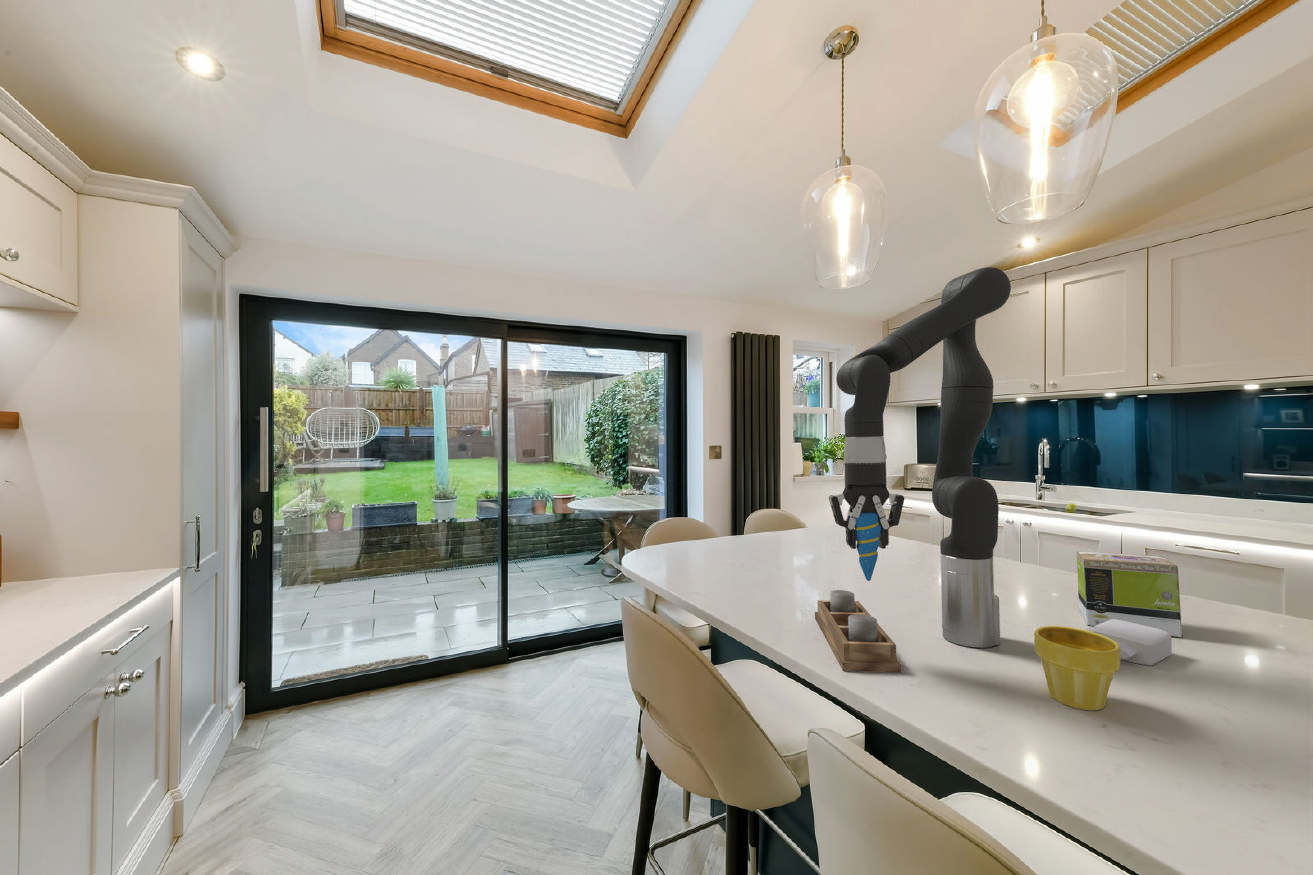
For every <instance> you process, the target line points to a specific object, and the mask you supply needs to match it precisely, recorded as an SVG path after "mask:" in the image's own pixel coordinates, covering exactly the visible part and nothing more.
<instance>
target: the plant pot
mask: <svg viewBox="0 0 1313 875" xmlns="http://www.w3.org/2000/svg"><path fill="white" fill-rule="evenodd" d="M1033 639H1034V641H1033V642H1034V650H1035V653H1036V655H1037V656H1038V657H1039V658H1040V661H1041V664H1042V669H1043V673H1044V677H1045V680H1046V684H1047V689H1048V692H1049V693H1048V694H1049V695H1050V697H1052V698H1053V699H1054V700H1055V701H1056V702H1059V703H1061V704H1063V705H1065V706H1068V707H1071V708H1074V709H1078V710H1083V711H1099V710H1102V709H1104V707H1105V705H1106V701H1107V696H1108V694H1109V691H1110V687H1111V683H1112V680H1113V677H1114V673H1116V672H1118V671H1119V669H1120V668H1121V659H1120V646H1119V645H1118V643H1117V642H1115V641H1114V640H1112V639H1110V638H1108V637H1106V636H1103V635H1100V634H1098V633H1094V632H1091V631H1089V630H1087V629H1083V628H1082V629H1081V628H1078V627H1077V628H1075V627H1070V626H1064V625H1063V626H1062V625H1044V626H1040V627H1038V628H1036V629H1035V630H1034V638H1033Z"/></svg>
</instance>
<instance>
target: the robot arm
mask: <svg viewBox="0 0 1313 875" xmlns="http://www.w3.org/2000/svg"><path fill="white" fill-rule="evenodd" d="M1011 285H1012V284H1011V280H1010V278H1009V276H1008V275H1007V274H1006V273H1005V272H1004V271H1003V270H1002V269H1001V268H999V267H998V268H997V267H993V266H989V267H988V266H987V267H982V268H978V269H975V270H972V271H970V272H966V273H964V274H962V275H960V276H957V277H954V278H953V279H951V280H950V281H949V282H947V283H946V285H945V286H944V288H943V290H942V293H941V298H940V299H941V301H940V303H941V304H939V305H937V306H935V307H934V308H932V309H930V310H928V311H925V312H924V313H922V314H920V315H918V316H916V317H915V318H913V319H911V320H909V321H907V322H906V323H904V324H902V325H901V326H900V327H898V328H896V329H895V330H893V331H892V332H891V333H889V334H888V335H886V336H885V337H884V338H883V339H882V340H881V341H879V342H877V343H876V344H875V345H873V346H870V347H869V348H867V349H865V350H864V351H863V350H862V351H861V352H860V353H858V354H856V355H855V356H853V357H851V358H849V359H848V360H847V361H845V362H844V363H843V364H842V365H841V366H840V368H839V369H838V370H837V373H836V384H837V387H838V388H839V390H841V392H842V393H844V394H847V395H850V396H854V401H853V405H852V406H851V407H849V408H848V409H846V411H845V413H844V421H843V422H844V437H845V438H844V447H843V459H844V460H843V462H844V464H843V466H844V467H843V468H844V489H843V491H842V493H839V494H836V495H834V494H831V495H829V496H828V501H829V504H830V508H831V511H832V515H833V518H834V523H835V524H836V525H838V526H839V527H843V528H845V542H846V545H847V546H848V547H849V548H850V549H851V550H857V541H856V530H855V528H854V527H855V524H856V521H855V520H856V519H857V518H859V515H860V513H866V512H870V513H876V514H877V515H878V521H879V523H880V525H881V532H880V535H879V539H880V544H879V547H878V548H880V549H881V550H882V549H885V550H886V549H887V546H889V544H890V541H889V540H890V538H889V537H890V536H889V535H890V534H889V532H890V531H889V530H890V528H892V527H897V526H899V523H900V519H901V516H902V511H903V506H904V502H905V496H904V495H902V494H898V493H895V494H894V493H890V491H889V489H888V487H887V483H888V482H887V450H886V444H885V437H884V436H885V434H884V432H885V430H884V413H885V409H886V405H887V400H888V396H889V390H890V386H891V374H892V373H894V372H897V371H900V370H903V369H904V368H906V367H907V366H909V365H910V364H912V363H913V362H914V361H916V360H917V359H919V358H921V356H923V355H924V354H925V353H926V352H928V351H929V350H931V349H932V348H934V347H935V346H936V345H938V344H939V343H941V342H942V343H943V344H942V345H943V346H942V347H943V348H942V349H943V350H942V377H941V378H942V380H941V388H940V389H941V390H940V419H939V420H940V422H939V434H938V435H939V436H938V451H937V457H936V458H937V459H936V465H935V471H934V475H933V482H932V487H931V488H932V490H931V499H932V504H933V506H934V508H935V510H936V511H937V512H938V513H939V514H940V515H942V516H943V517H945V518H948V519H951V526H950V529H951V530H950V534H949V535H948V536H945V537H943V538H942V539H941V540H940V543H939V544H940V545H939V546H940V548H939V549H940V580H941V581H940V584H941V585H940V588H941V590H940V591H941V622H942V623H941V628H942V632H941V633H942V637H943V638H944V639H945V640H947V641H948V642H951V643H953V644H956V645H960V646H964V647H969V648H982V649H983V648H984V649H985V648H991V647H994V646H1001V624H1000V623H1001V620H1000V618H1001V616H1000V598H999V596H998V595H996V594H995V580H994V578H995V577H994V575H995V573H994V572H995V571H994V549H995V547H996V545H997V542H998V539H999V538H998V537H999V535H998V534H999V515H1000V514H999V510H1000V509H999V508H1000V506H999V498H998V495H997V491H996V489H995V488H994V486H993V485H992V483H991V482H989V481H987V480H986V479H984V478H981V477H977V476H976V477H975V476H973V461H974V460H973V459H974V454H975V450H976V448H977V444H978V443H979V441H980V439H981V437H982V436H983V434H984V431H985V429H986V428H987V425H988V423H989V421H990V419H991V416H992V412H993V403H994V402H993V399H994V379H993V374H992V373H991V370H990V369H989V367H988V365H987V363H986V361H985V360H984V358H983V356H982V355H981V353H980V351H979V349H978V346H977V341H976V325H977V320H978V319H980V318H982V317H984V316H986V315H989V314H992V313H994V312H996V311H997V310H999V309H1000V308H1002V307H1003V306H1004V305H1005V304H1006V303H1007V301H1008V300H1009V298H1010V295H1011V289H1012V287H1011ZM843 500H845V501H846V502H847V504H848V505H849V508H848V511H847V516H846V519H845V518H844V515H843V511H842V509H841V508H842V507H841V506H842V505H843ZM887 500H889V501H888V503H889V504H890V505H891V506H890V509H889V514H888V519H887V515H886V513H885V510H884V508H883V506H884V505H885V503H886V502H887Z"/></svg>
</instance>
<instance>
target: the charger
mask: <svg viewBox="0 0 1313 875" xmlns="http://www.w3.org/2000/svg"><path fill="white" fill-rule="evenodd" d="M1088 631H1091V632H1094V633H1098V634H1100V635H1103V636H1106V637H1108V638H1110V639H1112V640H1114V641H1115V642H1117V643H1118V645H1119V646H1120V660H1123V661H1126V662H1130V663H1133V664H1137V665H1142V666H1146V667H1147V666H1148V667H1151V666H1153V665H1155V664H1157V663H1158V662H1160V661H1162V660H1164V659H1166V658H1167V657H1169V656H1170V655H1172V652H1173V651H1172V649H1173V648H1172V647H1173V646H1172V636H1171V635H1170V634H1169V633H1168V632H1166V631H1164V630H1161V629H1157V628H1152V627H1148V626H1144V625H1140V624H1135V623H1131V622H1127V621H1122V620H1118V619H1111V620H1108V621H1106V622H1104V623H1101V624H1099V625H1097V626H1092V627H1090V628H1088Z"/></svg>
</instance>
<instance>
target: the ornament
mask: <svg viewBox="0 0 1313 875" xmlns="http://www.w3.org/2000/svg"><path fill="white" fill-rule="evenodd" d="M855 521H856V524H855V527H854V529H855V530H856V550H857V552H858V555H859V557H858V563H859V565H860V568H861V570H862V572H863V575H864V577H865V579H866V581H867V582H870V581H871V580H872V578H873V577H872V576H873V574H874V570H875V568H876V564H877V560H878V558H879V557H878V556H879V553H878V549H879V548H880V547H879V544H880V539H879V535H880V532H881V525H880V523H879V521H878V515H877V514H876V513H870V512H866V513H860V515H859V518H857V519H856V520H855Z"/></svg>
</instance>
